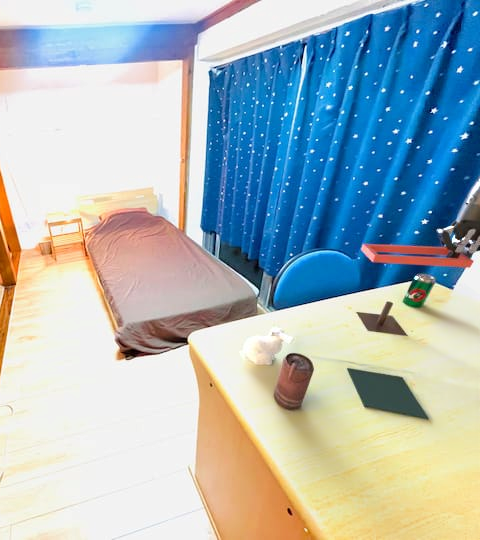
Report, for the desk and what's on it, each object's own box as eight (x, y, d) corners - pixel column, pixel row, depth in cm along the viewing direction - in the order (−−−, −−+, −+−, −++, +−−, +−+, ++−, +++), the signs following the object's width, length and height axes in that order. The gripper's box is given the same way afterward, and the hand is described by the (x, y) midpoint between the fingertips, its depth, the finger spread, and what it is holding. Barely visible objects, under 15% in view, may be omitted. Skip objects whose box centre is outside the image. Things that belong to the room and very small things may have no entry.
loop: (360, 249, 85) (363, 243, 84) (449, 253, 78) (452, 247, 77) (372, 262, 78) (374, 255, 77) (470, 267, 71) (474, 260, 70)
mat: (401, 377, 73) (402, 376, 73) (428, 419, 63) (429, 418, 63) (346, 368, 77) (347, 367, 77) (364, 406, 67) (364, 405, 67)
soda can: (425, 310, 94) (441, 280, 89) (407, 310, 95) (423, 280, 90) (413, 302, 99) (428, 272, 93) (397, 301, 100) (411, 272, 94)
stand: (390, 318, 93) (402, 295, 88) (406, 338, 84) (419, 315, 80) (354, 314, 96) (363, 292, 91) (366, 333, 88) (376, 310, 83)
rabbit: (271, 345, 87) (279, 315, 81) (291, 369, 78) (300, 337, 73) (234, 351, 86) (239, 321, 80) (249, 375, 78) (256, 343, 72)
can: (269, 402, 70) (279, 363, 64) (278, 386, 74) (289, 347, 67) (295, 417, 66) (310, 377, 60) (304, 399, 70) (318, 360, 63)
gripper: (515, 196, 68) (478, 259, 76) (442, 196, 73) (414, 256, 81) (543, 205, 62) (499, 272, 70) (462, 204, 66) (430, 268, 75)
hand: (454, 263), depth 76 cm, fingers closed on loop, 1 cm apart
